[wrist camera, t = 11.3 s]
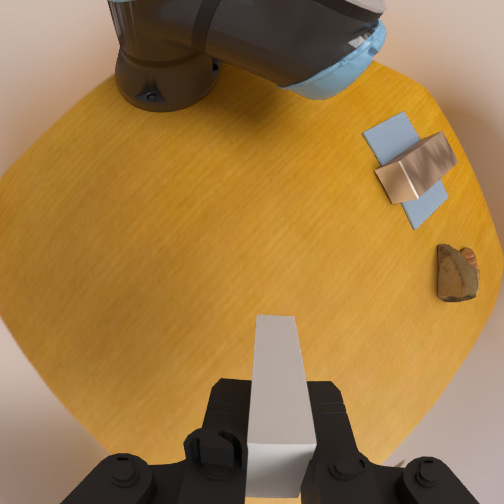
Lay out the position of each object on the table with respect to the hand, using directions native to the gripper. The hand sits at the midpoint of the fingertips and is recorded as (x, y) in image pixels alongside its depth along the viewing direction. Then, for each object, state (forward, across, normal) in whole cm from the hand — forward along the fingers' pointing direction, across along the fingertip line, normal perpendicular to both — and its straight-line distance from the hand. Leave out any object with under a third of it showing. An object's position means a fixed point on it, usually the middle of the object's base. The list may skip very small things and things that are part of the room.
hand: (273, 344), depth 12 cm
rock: (+35, +33, -7) cm, 49 cm away
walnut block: (+31, +19, +8) cm, 37 cm away
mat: (+37, +24, +11) cm, 46 cm away
